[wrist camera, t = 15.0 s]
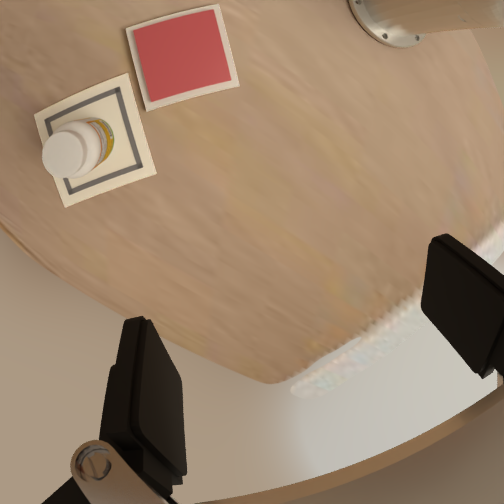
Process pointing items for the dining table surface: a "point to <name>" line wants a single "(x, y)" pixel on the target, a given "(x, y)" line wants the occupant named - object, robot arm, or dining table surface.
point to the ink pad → (182, 56)
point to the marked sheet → (125, 133)
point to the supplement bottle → (78, 147)
